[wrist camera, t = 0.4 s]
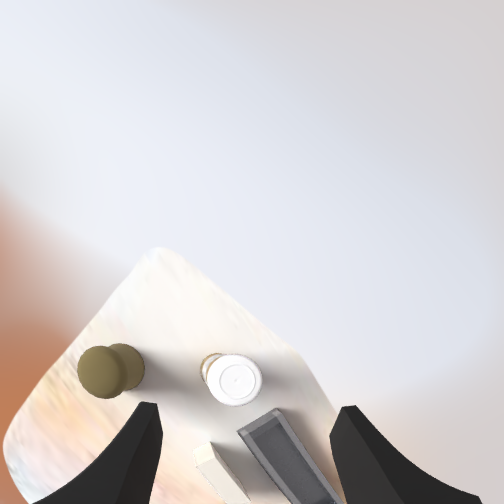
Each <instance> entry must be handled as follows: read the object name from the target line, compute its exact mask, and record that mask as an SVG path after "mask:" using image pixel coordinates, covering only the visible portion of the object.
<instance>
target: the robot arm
mask: <svg viewBox="0 0 504 504" xmlns="http://www.w3.org/2000/svg"><path fill="white" fill-rule="evenodd" d="M329 437H330V443H331V449H332V455H333V459H334V462H335V465H336V468H337V472H338V475H339V478H340V481H341V484H342V487H343V491H344V494H345V497H346V501H347V504H482V502H481V500H480V498H479V497H478V496H476V495H472V494H470V493H466V492H464V491H461V490H458V489H456V488H454V487H451V486H449V485H447V484H445V483H443V482H441V481H439V480H438V479H436V478H434V477H432V476H431V475H429V474H427V473H426V472H424V471H423V470H421V469H420V468H419V467H417V466H416V465H415V464H413V463H412V462H411V461H409V460H408V459H407V458H406V457H404V456H403V455H402V454H401V453H400V452H399V451H398V450H397V449H396V448H395V447H393V445H392V444H391V443H390V442H389V441H387V439H386V438H385V437H384V436H383V435H382V434H381V433H380V432H379V431H378V430H377V429H376V428H375V427H374V425H372V423H371V422H370V421H369V420H368V419H367V418H366V416H365V415H364V414H363V413H362V412H361V411H360V410H359V408H358V407H357V406H356V405H354V406H345V407H342V408H341V410H340V413H339V415H338V417H337V420H336V422H335V424H334V426H333V429H332V431H331V433H330V435H329ZM162 438H163V431H162V426H161V421H160V417H159V412H158V407H157V404H156V403H149V402H140V403H139V404H138V406H137V408H136V409H135V411H134V412H133V414H132V415H131V417H130V418H129V419H128V421H127V422H126V424H125V425H124V426H123V428H122V429H121V430H120V432H119V433H118V434H117V435H116V437H115V438H114V439H113V440H112V442H111V443H110V444H109V445H108V446H107V447H106V448H105V450H104V451H103V452H102V453H101V454H100V455H99V456H98V457H97V458H96V459H95V460H94V461H93V462H92V463H91V464H90V465H89V466H88V467H87V468H86V469H85V470H84V471H82V472H81V473H80V474H79V475H78V476H76V477H75V478H74V479H73V480H71V481H70V482H69V483H67V484H66V485H64V486H63V487H61V488H60V489H58V490H57V491H55V492H53V493H52V494H50V495H49V496H47V497H45V498H43V499H41V500H39V501H37V502H35V503H33V504H149V501H150V496H151V491H152V487H153V483H154V479H155V475H156V471H157V467H158V463H159V459H160V454H161V447H162Z"/></svg>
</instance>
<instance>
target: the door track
mask: <svg viewBox="0 0 504 504" xmlns="http://www.w3.org/2000/svg"><path fill="white" fill-rule="evenodd" d="M237 432H238V434H239V435H240V437H241V438H242V440H243V441H244V442H245V444H246V445H247V447H248V448H249V450H250V451H251V452H252V454H253V455H254V456H255V458H256V459H257V460H258V462H259V463H260V465H261V466H262V467H263V468H264V470H265V471H266V472H267V474H268V475H269V476H270V478H271V479H272V480H273V481H274V483H275V484H276V485H277V487H278V488H279V489H280V490H281V491H282V493H283V494H284V495H285V496H286V498H287V499H288V500H289V501H290V502H291V504H344V503H343V501H342V500H341V499H340V497H339V496H338V495H337V493H336V492H335V491H334V489H333V488H332V486H331V485H330V484H329V482H328V481H327V479H326V478H325V477H324V475H323V474H322V472H321V471H320V469H319V468H318V467H317V465H316V464H315V462H314V461H313V459H312V458H311V456H310V455H309V453H308V452H307V451H306V449H305V448H304V446H303V445H302V443H301V442H300V440H299V439H298V437H297V436H296V434H295V433H294V431H293V430H292V428H291V426H290V425H289V423H288V422H287V420H286V419H285V417H284V416H283V414H282V413H281V412H279V410H278V409H277V408H274V409H273V410H271V411H270V412H268V413H266V414H265V415H263V416H262V417H260V418H258V419H257V420H255V421H253V422H252V423H250V424H248V425H246V426H245V427H243V428H241V429H240V430H238V431H237Z"/></svg>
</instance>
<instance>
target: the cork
mask: <svg viewBox="0 0 504 504" xmlns="http://www.w3.org/2000/svg"><path fill="white" fill-rule="evenodd" d="M144 369H145V366H144V362H143V359H142V357H141V356H140V354H139V353H138V352H137V351H136V350H135V349H134V348H133V347H131V346H129V345H127V344H121V343H119V344H113V345H111V346H109V347H105V346H95V347H92V348H90V349H88V350H86V351H85V352H84V354H83V355H82V356H81V357H80V360H79V362H78V370H77V372H78V377H79V380H80V382H81V384H82V386H83V387H84V388H85V389H86V390H87V391H88V392H89V393H90V394H92V395H94V396H95V397H98V398H103V399H109V398H114V397H116V396H118V395H120V394H121V393H122V392H123V391H124V390H129V389H132V388H134V387H136V386H137V385H138V384H139V383H140V382H141V381H142V378H143V376H144Z"/></svg>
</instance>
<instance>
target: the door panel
mask: <svg viewBox="0 0 504 504" xmlns="http://www.w3.org/2000/svg"><path fill="white" fill-rule="evenodd" d="M193 453H194V460H195V466H196V468H197V469H198V470H199V472H200V473H201V474H202V475H203V477H204V478H205V479H206V480H207V482H208V483H209V484H210V485H211V486H212V488H213V489H214V490H215V491H216V492H217V494H218V495H219V496H220V497H221V498H222V499H223V500H224V502H225V503H226V504H249V503H251V500H250V498H249V497H248V495H247V493H246V491H245V489H244V487H243V486H242V484H241V482H240V481H239V480H238V479H237V477H236V476H235V475H234V474H233V472H232V471H231V470H230V469H229V467H228V466H227V465H226V463H225V462H224V461H223V459H222V458H221V457H220V455H219V454H218V453H217V451H216V450H215V448H214V447H213V446H212V444H211V443H210V442H208V443H206V444H204V445H202V446H200V447H198V448H196V449H194V450H193Z"/></svg>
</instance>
